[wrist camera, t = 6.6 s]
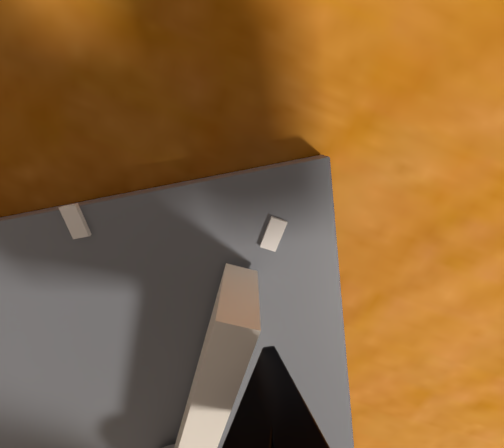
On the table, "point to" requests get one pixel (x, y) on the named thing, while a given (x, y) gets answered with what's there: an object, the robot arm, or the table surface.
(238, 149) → the table surface
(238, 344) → the lever
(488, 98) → the table surface
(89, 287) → the dial plate
